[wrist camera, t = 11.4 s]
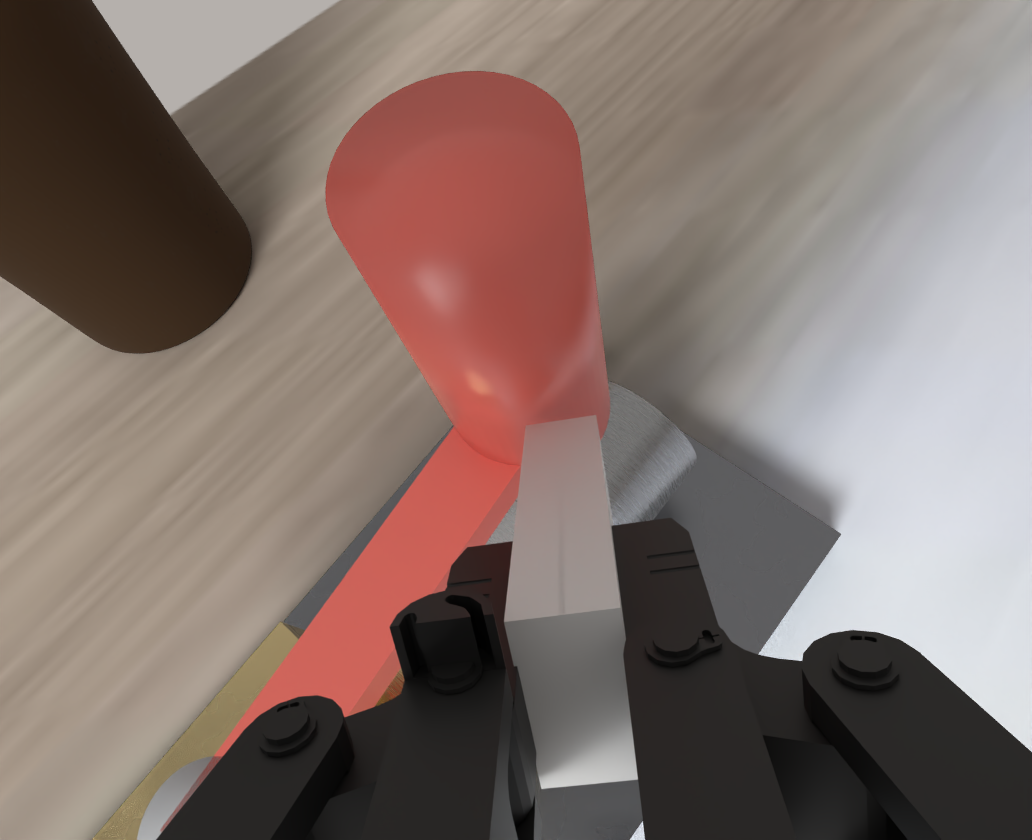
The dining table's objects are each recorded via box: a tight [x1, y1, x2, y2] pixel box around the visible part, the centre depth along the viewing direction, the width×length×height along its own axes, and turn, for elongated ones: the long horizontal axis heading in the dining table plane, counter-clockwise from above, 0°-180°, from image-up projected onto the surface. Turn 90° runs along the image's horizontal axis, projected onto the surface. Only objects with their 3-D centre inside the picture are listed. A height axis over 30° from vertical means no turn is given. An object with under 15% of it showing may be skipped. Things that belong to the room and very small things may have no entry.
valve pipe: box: [92, 381, 841, 840], centre depth 22 cm, size 34×14×11 cm, turn 141°
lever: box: [137, 71, 610, 840], centre depth 14 cm, size 16×4×9 cm, turn 146°
